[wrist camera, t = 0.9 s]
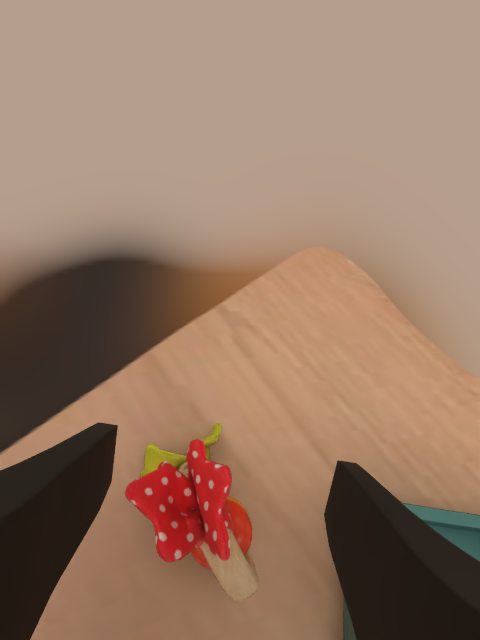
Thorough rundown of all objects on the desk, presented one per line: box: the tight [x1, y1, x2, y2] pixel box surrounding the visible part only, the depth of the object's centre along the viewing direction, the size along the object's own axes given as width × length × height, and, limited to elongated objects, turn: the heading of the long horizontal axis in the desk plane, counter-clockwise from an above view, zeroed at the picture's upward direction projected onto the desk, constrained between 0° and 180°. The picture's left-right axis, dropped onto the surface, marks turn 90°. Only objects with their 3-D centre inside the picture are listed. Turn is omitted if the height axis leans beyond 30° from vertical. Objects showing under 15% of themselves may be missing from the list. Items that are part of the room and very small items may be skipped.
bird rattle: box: [125, 423, 259, 601], centre depth 20 cm, size 6×11×9 cm
